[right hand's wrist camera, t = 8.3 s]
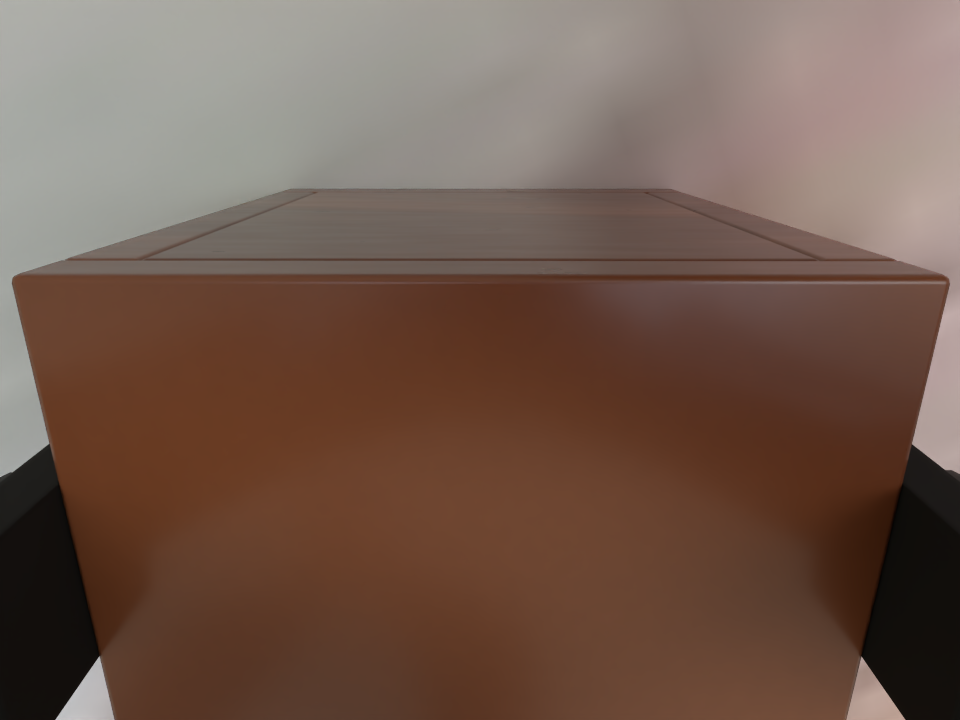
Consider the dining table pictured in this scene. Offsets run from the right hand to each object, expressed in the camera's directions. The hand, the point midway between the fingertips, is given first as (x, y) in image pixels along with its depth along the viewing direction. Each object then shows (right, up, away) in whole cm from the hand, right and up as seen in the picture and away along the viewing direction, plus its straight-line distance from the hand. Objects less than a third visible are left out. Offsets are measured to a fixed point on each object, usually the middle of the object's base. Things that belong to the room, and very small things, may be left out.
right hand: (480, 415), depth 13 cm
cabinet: (0, -4, +8) cm, 9 cm away
